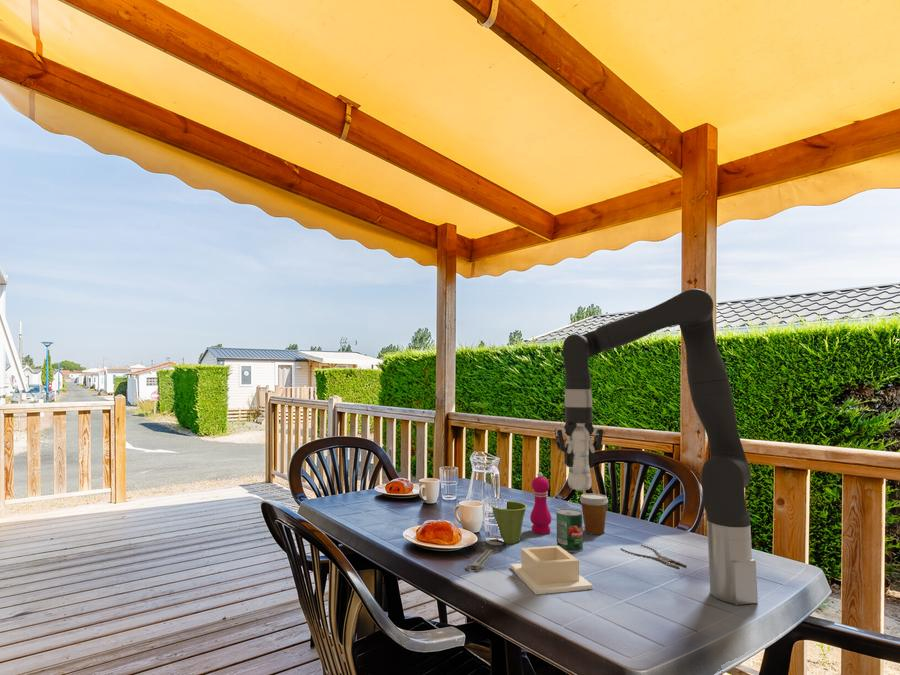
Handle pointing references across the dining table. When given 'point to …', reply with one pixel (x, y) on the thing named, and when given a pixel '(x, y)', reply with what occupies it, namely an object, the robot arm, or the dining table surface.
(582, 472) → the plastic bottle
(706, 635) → the dining table surface
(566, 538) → the canned tomato
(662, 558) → the pliers
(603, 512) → the disposable coffee cup
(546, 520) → the pepper mill
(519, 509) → the plant pot
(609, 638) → the dining table surface
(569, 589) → the housing
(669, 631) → the dining table surface
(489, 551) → the wrench
